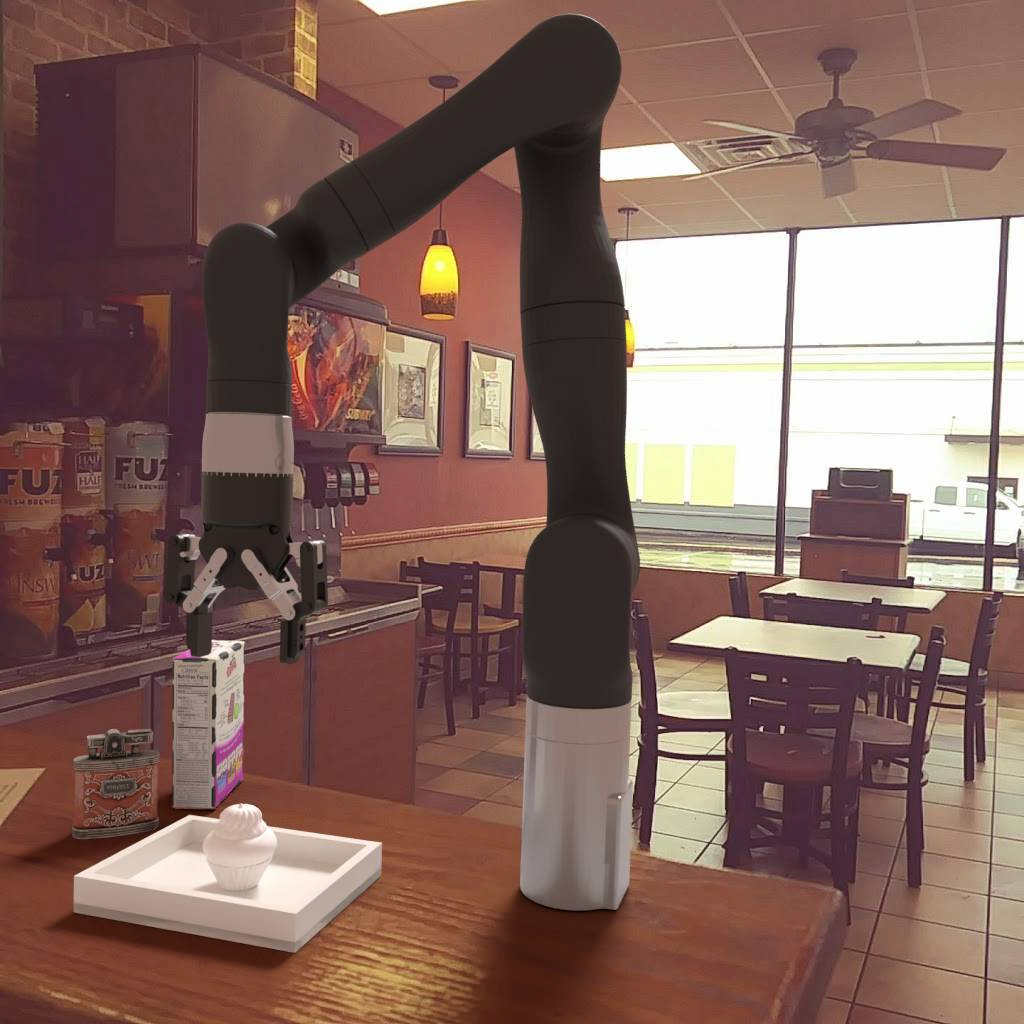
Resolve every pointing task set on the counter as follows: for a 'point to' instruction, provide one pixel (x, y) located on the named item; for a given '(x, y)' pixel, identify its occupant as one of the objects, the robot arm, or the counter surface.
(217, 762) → the candy bar box
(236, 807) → the muffin
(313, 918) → the tray
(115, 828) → the lighter
